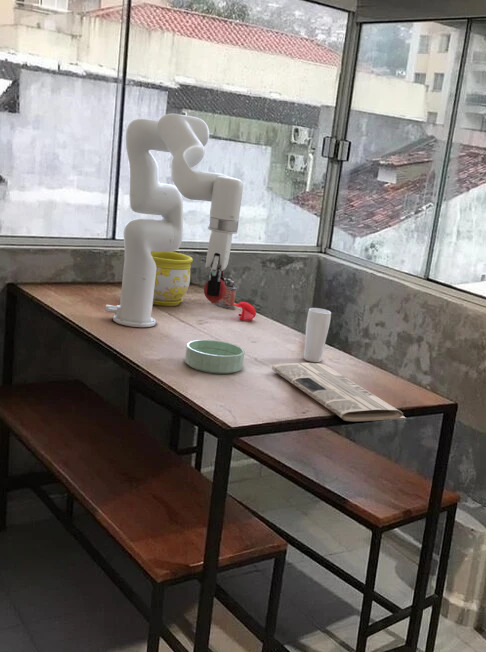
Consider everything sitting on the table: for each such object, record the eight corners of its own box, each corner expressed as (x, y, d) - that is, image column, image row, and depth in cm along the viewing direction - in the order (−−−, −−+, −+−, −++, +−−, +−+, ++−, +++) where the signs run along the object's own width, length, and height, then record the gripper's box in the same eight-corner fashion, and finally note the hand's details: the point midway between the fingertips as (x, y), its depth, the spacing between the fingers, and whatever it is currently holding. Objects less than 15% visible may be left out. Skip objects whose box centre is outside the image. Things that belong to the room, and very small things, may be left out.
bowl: (179, 369, 208) (182, 350, 207) (190, 354, 223) (192, 336, 222) (238, 378, 209) (241, 359, 208) (245, 362, 224) (247, 345, 223)
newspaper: (271, 372, 218) (272, 362, 218) (332, 371, 229) (333, 362, 228) (340, 422, 189) (342, 410, 188) (407, 418, 199) (409, 408, 198)
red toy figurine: (249, 317, 279) (252, 300, 277) (257, 321, 274) (260, 304, 273) (228, 316, 274) (231, 299, 273) (236, 321, 269) (239, 304, 268)
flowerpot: (122, 297, 276) (127, 250, 273) (160, 293, 292) (165, 248, 288) (161, 310, 268) (167, 261, 264) (198, 305, 283) (203, 259, 279)
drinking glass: (306, 363, 233) (314, 313, 230) (297, 356, 239) (304, 307, 235) (327, 363, 236) (335, 314, 233) (317, 356, 242) (325, 308, 238)
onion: (219, 307, 211) (223, 277, 209) (199, 303, 212) (202, 273, 210) (227, 304, 217) (231, 274, 215) (207, 299, 217) (210, 270, 216)
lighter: (236, 308, 289) (239, 281, 286) (230, 309, 286) (233, 281, 283) (218, 303, 293) (222, 276, 290) (212, 303, 290) (216, 276, 287)
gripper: (213, 220, 218) (205, 285, 222) (203, 226, 201) (194, 297, 205) (241, 224, 218) (232, 290, 222) (233, 231, 201) (224, 301, 205)
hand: (214, 292), depth 214 cm, fingers closed on onion, 6 cm apart
